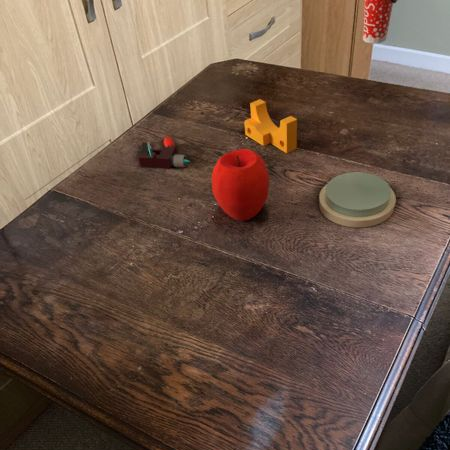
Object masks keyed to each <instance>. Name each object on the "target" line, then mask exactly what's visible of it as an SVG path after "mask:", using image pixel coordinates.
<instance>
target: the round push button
mask: <svg viewBox="0 0 450 450" xmlns="http://www.w3.org/2000/svg"><path fill="white" fill-rule="evenodd" d="M318 196H319V197H318V207H319V210H320V212H321V214H322V215H323V216H324V217H325V218H326V219H327V220H328V221H330V222H332V223H334V224H337V225H339V226H342V227H343V226H344V227H347V228H357V229H358V228H369V227H370V228H371V227H374V226H377V225H380V224H382V223H384V222H386V221H387V220H388V219H389V218H390V217H391V216H392V215H393V213H394V212H395V208H396V207H395V206H396V201H397V199H396V197H397V196H396V194H395V192H394V190H393V189H392V188H391V185H390V184H389V183H388V182H387V181H386V180H385V179H384V178H381V176H378V175H376V174H374V173H369V172H362V171H352V172H345V173H342V174H338V175H336V176H334V177H333V178H331V179H330V180H329V181H328V182H327V184H325V185H324V186H323V187H322V189H321V190H320V192H319V195H318Z"/></svg>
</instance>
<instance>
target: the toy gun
mask: <svg viewBox="0 0 450 450" xmlns="http://www.w3.org/2000/svg"><path fill="white" fill-rule="evenodd" d="M140 144H141V146H140V151H139V152H138V153H137V154H136V159H137V163H138V165H139V167H142V168H143V167H144V168H162V169H171V168H172V167H174V168H186V167H187V165H188V163H190V162H191V161H190V160H189V159H188V158H187V157H188V156H187V154H178V150H177V145H175V142H174V139H173V138H172V137H171V136H167V137H165V138H164V140H163V145H164V149H163V148H162V149H160V148H157V149H156V148H152V144H151V143H150V141H147V142H141V143H140Z"/></svg>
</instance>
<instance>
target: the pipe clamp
mask: <svg viewBox="0 0 450 450" xmlns="http://www.w3.org/2000/svg"><path fill="white" fill-rule="evenodd" d="M249 104H250V105H249V106H250V118H247V119H245V120H244V135H245V136H247V137H248V138H250V139H252V140H253V141H254V142H256V143H258V144H260V145H261V146H262V147H265V146H267V145H269V144H271V145H272V146H274V147H276V148H277V149H279V150H280V151H282V152H284V153H285V154H289V153H291V152H293V151H296V150H297V147H298V118H296V117H294V116H292V115H289V116H288V117H285V118H283V119H281V120H280V123H279V126H277V125H276V124H275V123H274V122H273V121H272V118H271V117H270V115H269V112H268V108H267V102H266V101H265V100H262V99H260V98H259V99H257V100H254V101H252V102H249Z"/></svg>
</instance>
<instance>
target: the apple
mask: <svg viewBox="0 0 450 450" xmlns="http://www.w3.org/2000/svg"><path fill="white" fill-rule="evenodd" d="M266 166H267V165H266V163H265V161H264V160H263V157H262V156H261V155H260V154H258V153H257V152H255V151H253V150H250V149H248V148H241V149H236V150H233V151H229V152H227V153H224V154H223V155H222V156H221V157H219V158H218V160H217V162H216V164H215V165H214V168H213V170H212V174H211V187H212V194H213V197H214V199H215V200H216V202H217V205H218V206H219V207H220V209H222V210H223V212H224V213H225V214H226V215H228V216H229V217H230V218H232V219H234V220H236V221H240V222H244V221H249V220H251V219H253V218H254V217H255V216H257V214H258V213H259V212H260V211H262V208H263V207H264V206H265V204H266V201H267V199H268V196H269V188H270V177H269V173H268V169H267V167H266Z"/></svg>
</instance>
